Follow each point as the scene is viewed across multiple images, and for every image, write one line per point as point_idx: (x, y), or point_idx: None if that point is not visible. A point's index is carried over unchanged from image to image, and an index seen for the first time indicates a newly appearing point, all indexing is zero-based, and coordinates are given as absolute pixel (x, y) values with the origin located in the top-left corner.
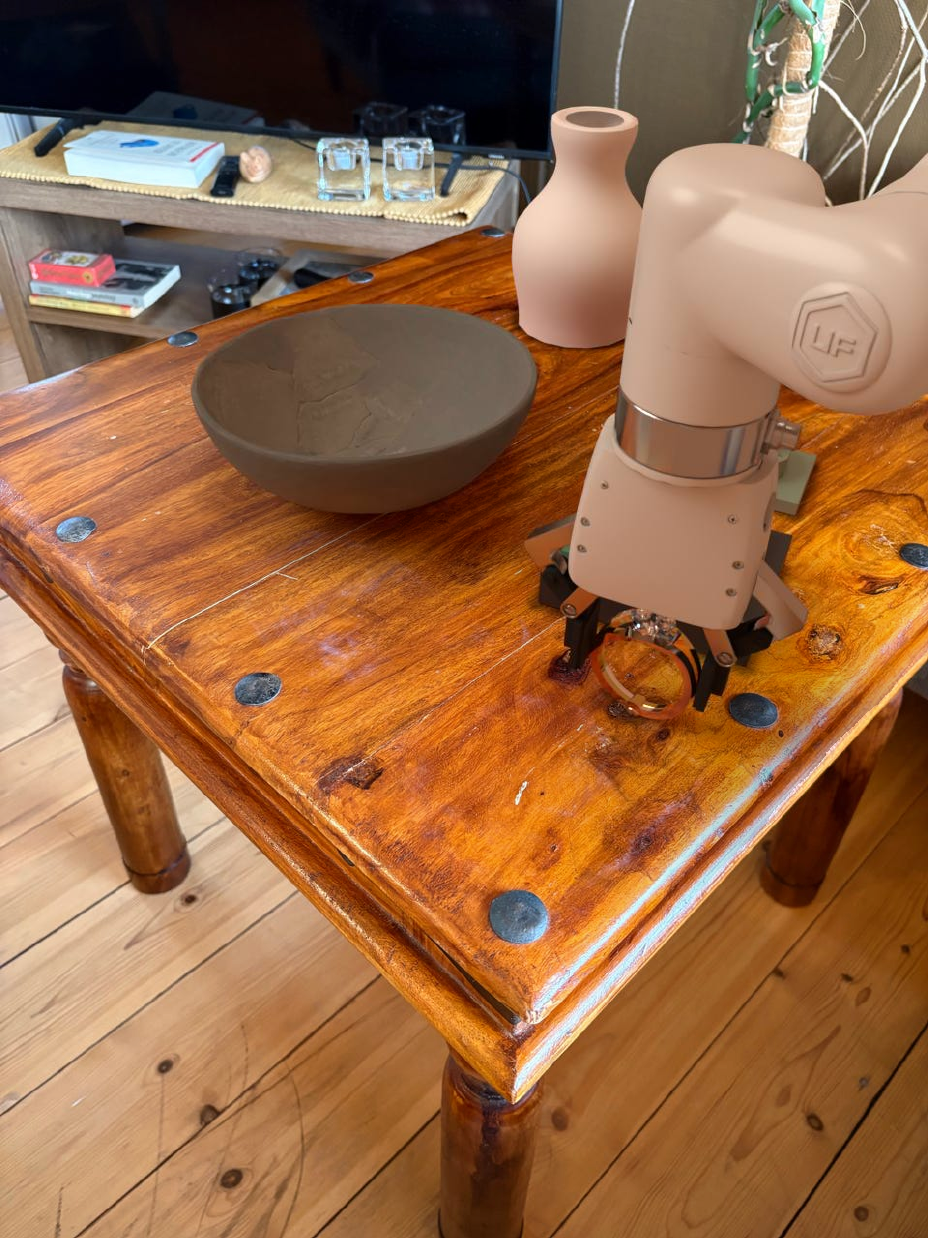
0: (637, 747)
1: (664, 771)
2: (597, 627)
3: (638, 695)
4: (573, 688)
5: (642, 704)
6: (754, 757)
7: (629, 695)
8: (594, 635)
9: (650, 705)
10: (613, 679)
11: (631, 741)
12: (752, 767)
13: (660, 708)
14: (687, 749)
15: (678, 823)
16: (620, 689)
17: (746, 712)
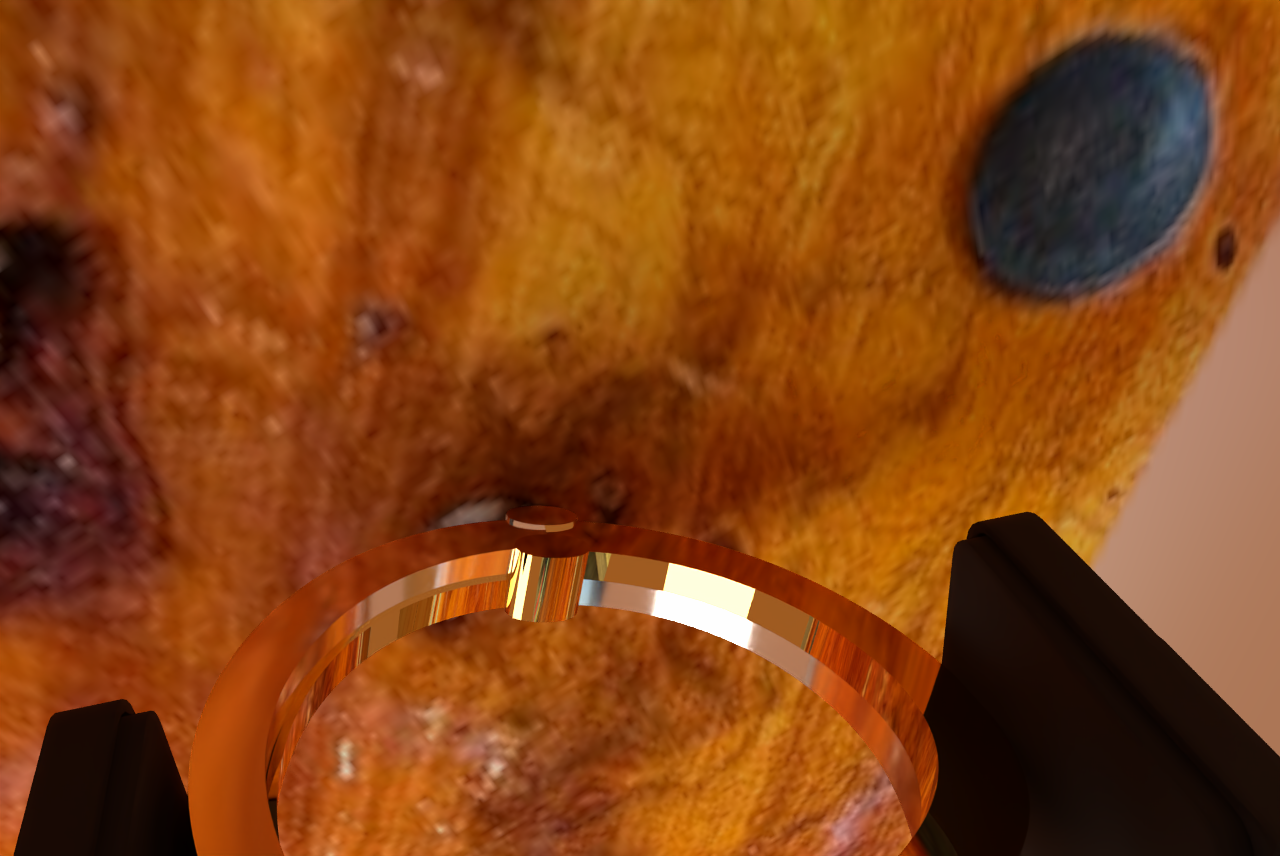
0: (636, 694)
1: (782, 721)
2: (134, 821)
3: (544, 564)
4: (151, 594)
5: (583, 578)
6: (1116, 450)
7: (490, 564)
8: (154, 831)
9: (628, 572)
10: (375, 607)
11: (598, 684)
12: (1111, 501)
13: (695, 596)
14: (839, 579)
15: (890, 851)
16: (435, 592)
17: (1061, 209)
